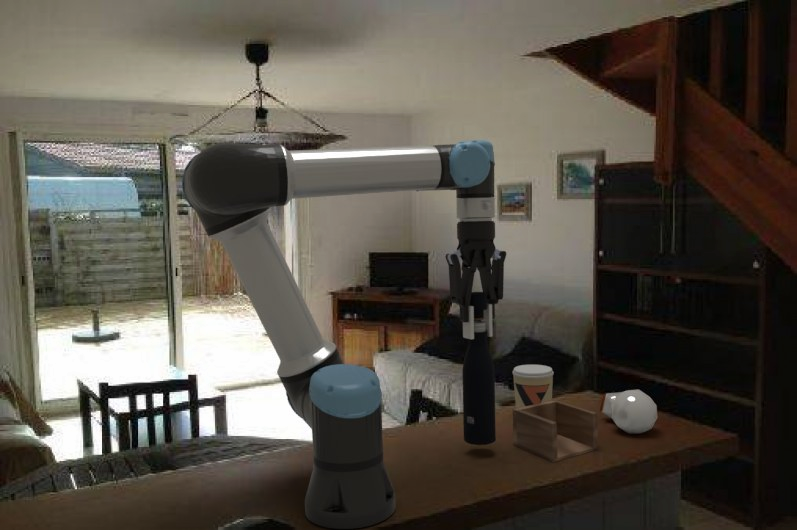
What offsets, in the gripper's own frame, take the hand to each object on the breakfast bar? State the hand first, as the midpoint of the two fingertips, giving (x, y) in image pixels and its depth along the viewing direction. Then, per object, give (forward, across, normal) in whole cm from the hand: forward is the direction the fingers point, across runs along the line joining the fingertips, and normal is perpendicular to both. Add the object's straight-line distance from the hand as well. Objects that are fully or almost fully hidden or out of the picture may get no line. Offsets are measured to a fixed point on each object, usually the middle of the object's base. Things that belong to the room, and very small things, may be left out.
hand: (477, 336), depth 138 cm
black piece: (+21, 0, 0) cm, 21 cm away
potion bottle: (+24, +36, -6) cm, 43 cm away
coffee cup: (+24, +24, +11) cm, 35 cm away
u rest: (+24, +15, -6) cm, 29 cm away
